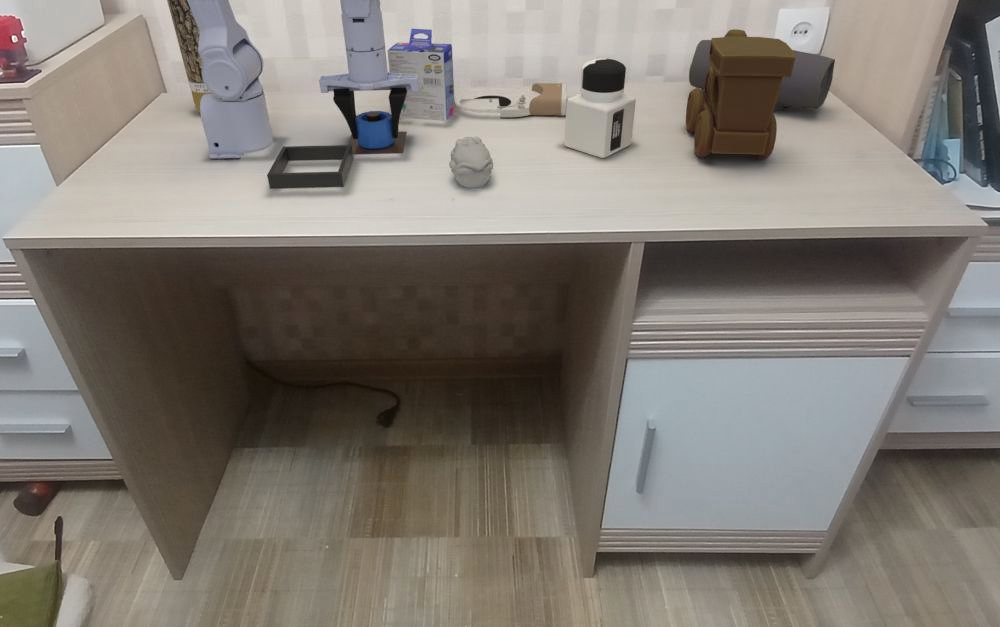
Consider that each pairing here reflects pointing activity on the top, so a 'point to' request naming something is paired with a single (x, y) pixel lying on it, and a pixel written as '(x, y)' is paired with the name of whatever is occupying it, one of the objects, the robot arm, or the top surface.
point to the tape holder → (392, 149)
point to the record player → (521, 100)
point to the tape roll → (374, 131)
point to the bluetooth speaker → (795, 91)
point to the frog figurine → (471, 162)
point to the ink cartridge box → (425, 76)
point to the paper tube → (189, 47)
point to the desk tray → (310, 178)
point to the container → (600, 110)
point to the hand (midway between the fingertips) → (375, 136)
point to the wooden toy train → (739, 95)
